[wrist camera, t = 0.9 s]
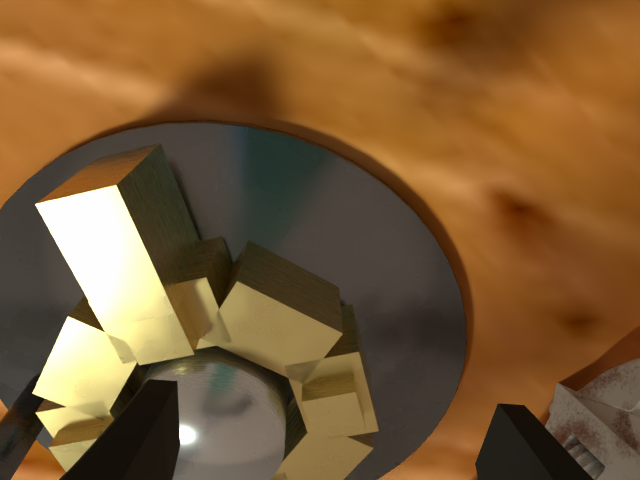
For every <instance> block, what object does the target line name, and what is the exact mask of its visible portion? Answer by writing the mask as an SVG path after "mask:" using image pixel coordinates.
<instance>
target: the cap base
mask: <svg viewBox="0 0 640 480" xmlns="http://www.w3.org/2000/svg"><path fill="white" fill-rule="evenodd" d="M157 143H161V145H162V147H163V150H164V152H165V155H166V157H167V160H168V162H169V165H170V167H171V170H172V172H173V175H174V177H175V180H176V182H177V185H178V187H179V190H180V192H181V195H182V197H183V200H184V202H185V205H186V208H187V210H188V213H189V215H190V218H191V220H192V223H193V225H194V228H195V230H196V233H197V235H198V238H199V240H200V241H202V240H207V239H212V238H216V237H221V236H222V238H223V241H224V243H225V246H226V249H227V251H228V254H229V257H230V259H231V262H232V265H233V264H234V262H235V261H236V259H237V257H238V256H239V254H240V252H241V251H242V249H243V248H244V246H245V244H246V243H247V241H248V240H250V241H252V242H254V243H255V244H257V245H259V246H261V247H263V248H265V249H267V250H269V251H271V252H273V253H275V254H276V255H278V256H280V257H282V258H284V259H286V260H288V261H290V262H292V263H294V264H296V265H298V266H299V267H301V268H303V269H305V270H307V271H309V272H311V273H313V274H315V275H317V276H319V277H320V278H322V279H324V280H326V281H328V282H330V283H332V284H334V285H336V286H338V287H339V291H340V303H341V306H345V305H350V304H353V306H354V310H355V314H356V318H357V322H358V327H359V331H360V335H361V339H362V343H363V347H364V351H365V355H366V359H367V363H368V367H369V371H370V375H371V381H372V387H373V394H374V401H375V408H376V414H377V421H378V428H379V431H377V432H372V439H373V447H374V449H373V450H372V451H371V452H370V453H369V454H368V455H367V456H366V457H365V458H364V459H363V460H362V461H361V462H360V463H359V464H358V465H357V466H356V467H355V468H354V469H353V470H352V471H351V472H350V473H349V474H348V475H347V476H346V477H345V479H344V480H377V479H379V478H380V477H382V476H383V475H385V474H386V473H388V472H389V471H391V470H392V469H394V468H395V467H397V466H398V465H399V464H401V463H402V462H403V461H404V460H405V459H406V458H408V457H409V456H410V455H411V454H412V453H413V452H415V451H416V450H417V449H418V448H419V447H420V445H421V444H422V443H423V442H424V441H425V440H426V439H427V438H428V437H429V435H430V434H431V433H432V432H433V431H434V429H435V428H436V426H437V425H438V423H439V422H440V420H441V419H442V418H443V416H444V415H445V413H446V411H447V409H448V407H449V405H450V403H451V401H452V399H453V397H454V395H455V393H456V390H457V387H458V384H459V381H460V377H461V374H462V371H463V366H464V359H465V352H466V344H467V342H466V317H465V312H464V307H463V302H462V297H461V292H460V289H459V287H458V284H457V281H456V279H455V276H454V274H453V271H452V268H451V266H450V264H449V262H448V260H447V258H446V256H445V254H444V252H443V251H442V249H441V247H440V246H439V244H438V242H437V240H436V239H435V237H434V235H433V233H432V232H431V231H430V229H429V228H428V227H427V226H426V224H425V223H424V222H423V221H422V219H421V218H420V217H419V216H418V214H417V213H416V212H415V211H414V209H413V208H412V207H411V206H410V205H409V204H408V203H407V202H405V201H404V200H403V199H402V198H401V197H400V196H399V195H398V194H397V193H396V192H395V191H394V190H393V189H392V188H390V187H389V186H388V185H387V184H386V183H384V182H383V181H382V180H380V179H379V178H377V177H376V176H375V175H373V174H372V173H370V172H369V171H367V170H366V169H365V168H363V167H362V166H360V165H359V164H357V163H355V162H354V161H352V160H350V159H348V158H346V157H344V156H342V155H340V154H338V153H336V152H334V151H332V150H330V149H329V148H327V147H325V146H322V145H320V144H317V143H314V142H311V141H309V140H306V139H303V138H300V137H298V136H295V135H292V134H289V133H286V132H282V131H278V130H273V129H269V128H264V127H260V126H255V125H251V124H244V123H234V122H223V121H212V120H197V121H170V122H163V123H157V124H151V125H145V126H140V127H134V128H129V129H126V130H123V131H120V132H116V133H113V134H110V135H107V136H104V137H101V138H98V139H95V140H93V141H91V142H89V143H87V144H85V145H83V146H81V147H79V148H77V149H75V150H73V151H71V152H69V153H67V154H65V155H63V156H61V157H59V158H58V159H56V160H55V161H53V162H52V163H51V164H49V165H48V166H46V167H45V168H44V169H42V170H41V171H39V172H38V173H37V174H35V175H34V176H32V177H31V178H30V179H28V180H27V181H26V182H25V183H24V184H23V185H22V186H21V187H20V188H19V189H18V190H17V191H16V192H15V193H14V194H13V195H12V196H11V197H10V198H9V199H8V200H7V201H6V202H5V204H4V205H3V207H2V208H1V209H0V399H1V400H2V402H3V403H4V405H5V406H6V408H7V409H8V410H9V409H10V407H11V406H12V405H13V403H14V402H15V401H16V399H17V398H18V397H19V395H20V394H21V393H22V391H23V390H24V388H25V387H26V386H27V384H28V383H29V382H30V380H31V379H32V378H33V377H35V376H38V375H41V374H42V371H43V369H44V367H45V365H46V363H47V361H48V358H49V356H50V354H51V352H52V350H53V348H54V346H55V343H56V341H57V339H58V337H59V335H60V333H61V330H62V328H63V326H64V324H65V322H66V320H67V317H68V316H69V314H70V313H71V312H72V311H73V309H74V308H75V307H76V305H77V304H78V303H79V301H80V300H81V299H82V297H83V296H84V295H85V293H84V291H83V289H82V287H81V286H80V284H79V282H78V280H77V278H76V277H75V275H74V273H73V271H72V269H71V268H70V266H69V264H68V262H67V260H66V259H65V257H64V255H63V253H62V251H61V250H60V248H59V246H58V244H57V242H56V241H55V239H54V237H53V235H52V233H51V232H50V230H49V228H48V226H47V224H46V223H45V221H44V219H43V217H42V215H41V214H40V212H39V210H38V208H37V206H36V205H35V204H36V203H38V202H39V201H40V200H42V199H43V198H44V197H46V196H47V195H48V194H50V193H51V192H52V191H54V190H55V189H56V188H58V187H59V186H60V185H62V184H63V183H64V182H66V181H67V180H68V179H70V178H71V177H72V176H74V175H75V174H76V173H78V172H79V171H80V170H82V169H83V168H84V167H86V166H87V165H88V164H90V163H91V162H92V161H94V160H95V159H97V158H99V157H103V156H107V155H112V154H116V153H120V152H124V151H128V150H132V149H136V148H141V147H145V146H149V145H153V144H157ZM137 363H138V362H137ZM138 365H139V364H138ZM139 367H140V369H141V371H142V372H143V374H144V376H145V379H144V381H143V383H142V385H143V384H144V383H145V382H146V381H147V380H149V379H156V380H170V381H177V383H178V405H179V426H180V449H179V454H178V458H177V462H176V467H175V471H174V475H173V479H172V480H270V479H271V478H272V477H273V476H274V475H275V474H276V472H277V471H278V469H279V468H280V466H281V464H282V461H283V457H284V448H285V433H286V418H287V405H288V404H289V403H290V402H291V400H292V399H293V398H294V397H295V395H294V392H293V389H292V387H291V384H290V381H289V378H288V377H285V376H283V375H281V374H279V373H276V372H274V371H272V370H270V369H268V368H265V367H263V366H261V365H259V364H257V363H254V362H252V361H250V360H248V359H245V358H243V357H241V356H239V355H237V354H234V353H232V352H230V351H228V350H226V349H223V348H221V347H219V346H217V345H216V346H211V347H206V348H201V349H196V351H195V354H194V355H190V356H185V357H179V358H174V359H169V360H164V361H159V362H154V363H149V364H144V365H139ZM142 385H141V386H142ZM53 439H54V438H53V437H52V436H51V434H50V433H49V431H48V430H47V429H46V427H45V426H44V427H43V429H42V430H41V432H40V433H39V435H38V437H37V438H36V440H37V441H38V442H39V443H40V444H41V445H43V446H44V447H45V448H47V449H48V450H49V451H50V449H49V448H48V447H49V446H50V444H51V442H52V440H53ZM50 452H51V451H50Z"/></svg>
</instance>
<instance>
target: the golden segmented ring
mask: <svg viewBox="0 0 640 480" xmlns="http://www.w3.org/2000/svg"><path fill="white" fill-rule="evenodd" d="M35 205H36V206H37V208H38V210H39V212H40V214H41V215H42V217H43V219H44V221H45V223H46V224H47V226H48V228H49V230H50V232H51V233H52V235H53V237H54V239H55V241H56V242H57V244H58V246H59V248H60V250H61V251H62V253H63V255H64V257H65V259H66V260H67V262H68V264H69V266H70V268H71V269H72V271H73V273H74V275H75V277H76V278H77V280H78V282H79V284H80V286H81V287H82V289H83V291H84V293H85V295H84V296H83V297H82V299H81V300H80V301H79V303H78V304H77V305H76V307H75V308H74V309H73V311H72V312H71V313H70V314H69V316H68V317H67V320H66V322H65V324H64V326H63V328H62V330H61V333H60V335H59V337H58V339H57V341H56V343H55V346H54V348H53V350H52V352H51V354H50V356H49V358H48V361H47V363H46V365H45V367H44V369H43V371H42V374H41V376H40V378H39V380H38V382H37V384H36V387H35V389H34V391H33V393H32V394H34V395H37V396H40V397H42V398H45V399H44V401H43V402H42V404H41V405H40V407H39V408H38V410H37V411H36V414H37V416H38V417H39V419H40V420H41V422H42V423H43V424H44V426H45V427H46V429H47V430H48V431H49V433H50V434H51V436H52V437H53V438H54V439H53V440H52V442H51V444H50V446H49V447H48V448H49V449H50V451H51V452H52V453H53V455H54V456H55V457H56V459H57V460H58V462H59V463H60V464H61V466H62V467H63V468H64V470H65V471H66V472H67V471H68V470H69V469H70V468H71V467H72V466H73V465H74V464H75V463H76V462H77V461H78V460H79V459H80V457H81V456H82V455H83V454H84V453H85V452H86V451H87V450H88V449H89V448H90V446H91V445H92V444H93V443H94V442H95V441H96V440H97V439H98V438H99V436H100V435H101V434H102V433H103V432H104V431H105V430H106V429H107V427H108V426H109V425H110V424H111V423H112V422H113V420H114V419H115V418H116V417H117V416H118V415H119V413H120V412H121V411H122V410H123V409H124V407H125V406H126V405H127V404H128V403H129V401H130V400H131V399H132V398H133V396H134V395H135V394H136V393H137V391H138V390H139V389H140V388H141V385H142V383H143V381H144V379H145V376H144V374H143V372H142V371H141V369H140V367H139V365H144V364H149V363H154V362H159V361H164V360H169V359H174V358H179V357H185V356H190V355H194V354H195V351H196V349H201V348H206V347H211V346H216V345H217V346H219V347H221V348H223V349H226V350H228V351H230V352H232V353H234V354H237V355H239V356H241V357H243V358H245V359H248V360H250V361H252V362H254V363H257V364H259V365H261V366H263V367H265V368H268V369H270V370H272V371H274V372H276V373H279V374H281V375H283V376H285V377H288V378H289V381H290V384H291V387H292V389H293V392H294V395H295V397H294V398H293V399H292V400H291V402H290V403H289V404H288V405H287V418H286V433H285V448H284V457H283V461H282V464H281V466H280V468H279V469H278V471H277V472H276V474H275V475H274V476H273V477H272V478H271V479H270V480H344V479H345V477H346V476H347V475H348V474H349V473H350V472H351V471H352V470H353V469H354V468H355V467H356V466H357V465H358V464H359V463H360V462H361V461H362V460H363V459H364V458H365V457H366V456H367V455H368V454H369V453H370V452H371V451H372V450H373V449H374V447H373V439H372V432H377V431H379V428H378V421H377V414H376V408H375V401H374V394H373V387H372V381H371V375H370V371H369V367H368V363H367V359H366V355H365V351H364V347H363V343H362V339H361V335H360V331H359V327H358V322H357V318H356V314H355V310H354V306H353V304H350V305H345V306H341V303H340V291H339V287H338V286H336V285H334V284H332V283H330V282H328V281H326V280H324V279H322V278H320V277H319V276H317V275H315V274H313V273H311V272H309V271H307V270H305V269H303V268H301V267H299V266H298V265H296V264H294V263H292V262H290V261H288V260H286V259H284V258H282V257H280V256H278V255H276V254H275V253H273V252H271V251H269V250H267V249H265V248H263V247H261V246H259V245H257V244H255V243H254V242H252V241H250V240H248V241H247V243H246V244H245V246H244V248H243V249H242V251H241V252H240V254H239V256H238V257H237V259H236V261H235V262H234V264H233V265H232V262H231V259H230V257H229V254H228V251H227V249H226V246H225V243H224V241H223V238H222V236H221V237H216V238H212V239H207V240H202V241H200V240H199V238H198V235H197V233H196V230H195V228H194V225H193V223H192V220H191V218H190V215H189V213H188V210H187V208H186V205H185V202H184V200H183V197H182V195H181V192H180V190H179V187H178V185H177V182H176V180H175V177H174V175H173V172H172V170H171V167H170V165H169V162H168V160H167V157H166V155H165V152H164V150H163V147H162V145H161V143H157V144H153V145H149V146H145V147H141V148H136V149H132V150H128V151H124V152H120V153H116V154H112V155H107V156H103V157H99V158H97V159H95V160H94V161H92V162H91V163H90V164H88V165H87V166H86V167H84V168H83V169H82V170H80V171H79V172H78V173H76V174H75V175H74V176H72V177H71V178H70V179H68V180H67V181H66V182H64V183H63V184H62V185H60V186H59V187H58V188H56V189H55V190H54V191H52V192H51V193H50V194H48V195H47V196H46V197H44V198H43V199H42V200H40V201H39V202H38V203H36V204H35ZM137 362H138V363H137ZM138 364H139V365H138Z"/></svg>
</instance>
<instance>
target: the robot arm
mask: <svg viewBox="0 0 640 480" xmlns="http://www.w3.org/2000/svg"><path fill="white" fill-rule="evenodd" d="M179 449H180V426H179V405H178V383H177V381H170V380H156V379H149V380H147V381H146V382H145V383H144V384H143V385H142V386H141V388H140V389H139V390H138V391H137V393H136V394H135V395H134V396H133V398H132V399H131V400H130V401H129V403H128V404H127V405H126V406H125V407H124V409H123V410H122V411H121V412H120V413H119V415H118V416H117V417H116V418H115V419H114V420H113V422H112V423H111V424H110V425H109V426H108V427H107V429H106V430H105V431H104V432H103V433H102V434H101V435H100V436H99V438H98V439H97V440H96V441H95V442H94V443H93V444H92V445H91V446H90V448H89V449H88V450H87V451H86V452H85V453H84V454H83V455H82V456H81V457H80V459H79V460H78V461H77V462H76V463H75V464H74V465H73V466H72V467H71V468H70V469H69V470H68V471H67V472H66V473H65V474H64V475H63V476H62V477H61V478H60V479H59V480H172V479H173V475H174V471H175V467H176V462H177V458H178V454H179ZM475 465H476V470H477V475H478V480H594V479H593V478H592V477H591V476H590V475H589V474H588V473H587V472H586V471H585V470H584V469H583V468H582V467H581V466H580V464H579V463H578V462H577V461H576V460H575V459H574V458H573V457H572V456H571V455H570V454H569V453H568V452H567V451H566V449H565V448H564V447H563V446H562V445H561V444H560V443H559V442H558V441H557V440H556V439H555V438H554V436H553V435H552V434H551V433H550V432H549V431H548V430H547V429H546V428H545V427H544V426H543V425H542V424H541V422H540V421H539V420H538V419H537V418H536V417H535V416H534V415H533V414H532V413H531V412H530V411H529V410H528V409H527V408H526V407H525V406H524V405H512V404H498V405H497V408H496V410H495V413H494V416H493V418H492V421H491V424H490V426H489V429H488V431H487V434H486V437H485V439H484V442H483V445H482V447H481V450H480V453H479V455H478V458H477V461H476V463H475Z"/></svg>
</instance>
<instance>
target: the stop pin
mask: <svg viewBox="0 0 640 480" xmlns="http://www.w3.org/2000/svg"><path fill="white" fill-rule="evenodd" d="M40 376H41V375H38V376H35V377H33V378H32V379H31V380H30V382H29V383H28V384H27V386H26V387H25V388H24V390H23V391H22V393H21V394H20V395H19V397H18V398H17V399H16V401H15V402H14V403H13V405H12V406H11V407H10V409H9V410H8V412H7V413H6V414H5V416H4V417H3V418H2V420H1V421H0V480H11V478H12V476H13V475H14V473H15V472H16V470H17V468H18V467H19V465H20V464H21V462H22V460H23V459H24V457H25V456H26V454H27V453H28V451H29V449H30V448H31V446H32V445H33V443H34V441H35V440H36V438H37V437H38V435H39V433H40V432H41V430H42V429H43V427H44V424H43V423H42V422H41V420H40V419H39V417H38V416H37V414H36V411H37V410H38V408H39V407H40V405H41V404H42V402H43V401H44V399H45V398H42V397H40V396H37V395H34V394H32V393H33V391H34V389H35V387H36V384H37V382H38V380H39V378H40Z"/></svg>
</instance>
